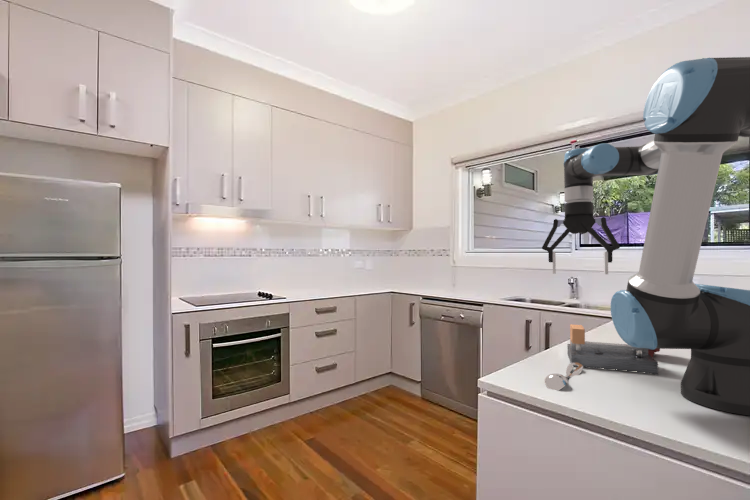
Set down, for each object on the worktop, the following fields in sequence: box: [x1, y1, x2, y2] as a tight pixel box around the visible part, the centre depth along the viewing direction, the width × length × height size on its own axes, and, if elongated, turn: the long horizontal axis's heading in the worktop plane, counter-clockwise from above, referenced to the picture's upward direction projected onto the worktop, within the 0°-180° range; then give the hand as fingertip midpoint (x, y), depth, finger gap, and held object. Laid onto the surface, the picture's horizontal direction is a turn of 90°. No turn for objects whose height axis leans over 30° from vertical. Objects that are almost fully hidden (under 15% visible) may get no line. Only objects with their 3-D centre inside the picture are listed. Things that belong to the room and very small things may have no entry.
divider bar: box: [571, 340, 648, 357], centre depth 105 cm, size 6×18×6 cm, turn 68°
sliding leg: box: [569, 324, 586, 351], centre depth 108 cm, size 7×3×6 cm, turn 158°
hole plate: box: [567, 343, 659, 375], centre depth 105 cm, size 13×19×3 cm
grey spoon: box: [544, 363, 584, 391], centre depth 92 cm, size 20×4×5 cm
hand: (579, 273), depth 114 cm, fingers open, 13 cm apart
